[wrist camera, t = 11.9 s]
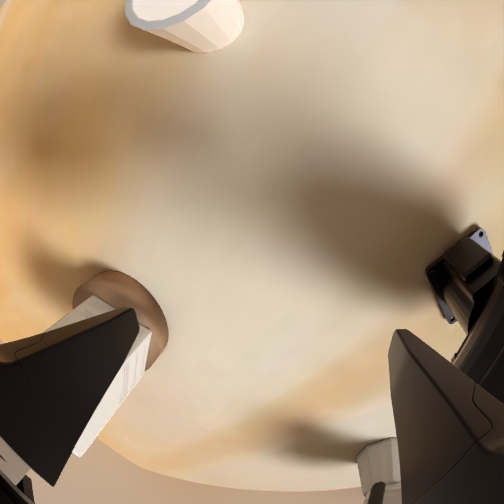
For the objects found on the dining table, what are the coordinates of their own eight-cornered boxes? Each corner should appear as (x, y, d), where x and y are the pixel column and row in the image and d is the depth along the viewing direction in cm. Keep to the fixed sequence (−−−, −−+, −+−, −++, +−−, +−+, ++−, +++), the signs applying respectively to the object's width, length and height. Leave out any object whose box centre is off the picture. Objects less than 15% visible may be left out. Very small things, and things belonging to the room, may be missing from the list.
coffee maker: (421, 456, 27) (429, 553, 10) (369, 473, 30) (364, 567, 13) (403, 413, 24) (415, 551, 8) (335, 436, 28) (321, 565, 11)
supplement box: (93, 291, 24) (-2, 363, 12) (154, 330, 23) (68, 431, 12) (91, 341, 27) (20, 409, 15) (144, 376, 26) (81, 461, 14)
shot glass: (204, 75, 18) (158, 48, 12) (157, 34, 17) (108, 7, 11) (270, 20, 15) (249, -28, 9) (215, -17, 15) (181, -59, 8)
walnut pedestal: (188, 336, 26) (175, 354, 24) (135, 367, 30) (123, 382, 28) (116, 250, 25) (96, 261, 22) (78, 300, 29) (62, 311, 26)
